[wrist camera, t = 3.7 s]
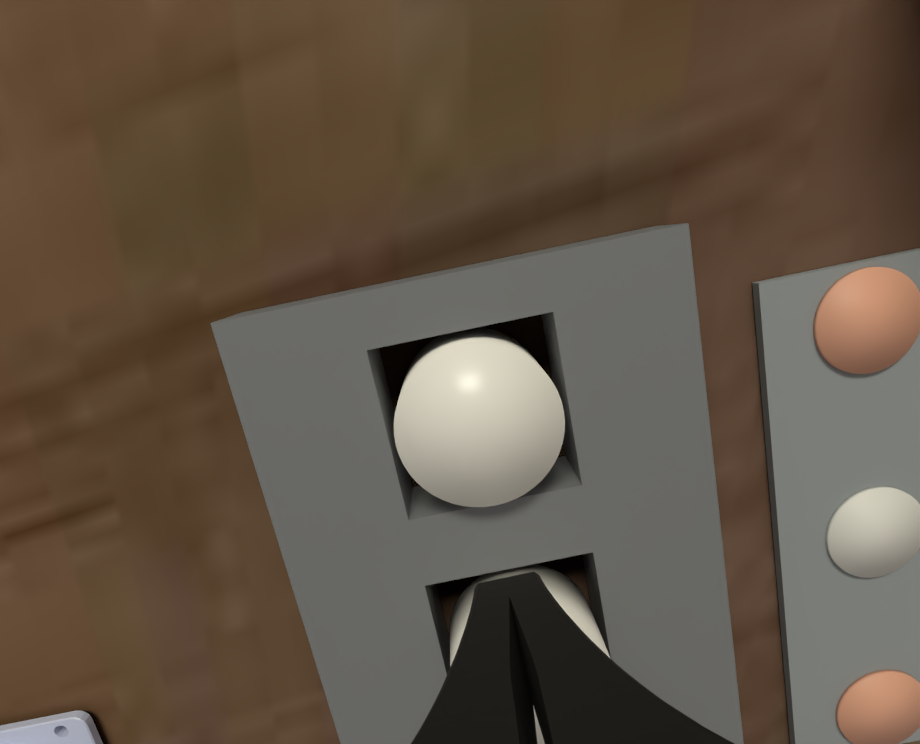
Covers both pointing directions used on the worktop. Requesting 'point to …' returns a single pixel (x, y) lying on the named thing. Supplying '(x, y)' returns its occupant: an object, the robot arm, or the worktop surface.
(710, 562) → the button board
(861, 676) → the pattern card
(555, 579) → the button middle
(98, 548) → the worktop surface
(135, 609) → the worktop surface
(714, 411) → the worktop surface
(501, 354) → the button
